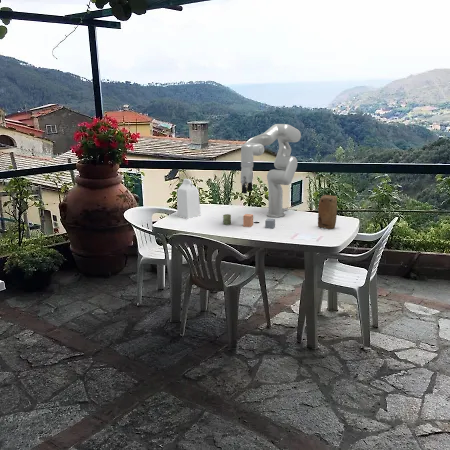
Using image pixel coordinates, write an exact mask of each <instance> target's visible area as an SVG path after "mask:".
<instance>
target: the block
mask: <svg viewBox="0 0 450 450" xmlns="http://www.w3.org/2000/svg"><path fill="white" fill-rule="evenodd" d="M337 198H338V197H337V195H331V194H324V195H322V196H321V197H320V198H319V201H318V207H317V209H318V210H317V226H318V227H319V228H323V229H326V230H327V229H328V230H331V229H334V228H336V223H337V214H338V212H337V211H338V199H337Z"/></svg>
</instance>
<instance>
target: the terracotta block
mask: <svg viewBox="0 0 450 450" xmlns="http://www.w3.org/2000/svg"><path fill="white" fill-rule="evenodd" d="M242 220H243V221H242V222H243V224H242V225H243V227H247V228H252V227H253V226H254V214H252V213H245V214H243V216H242Z"/></svg>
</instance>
